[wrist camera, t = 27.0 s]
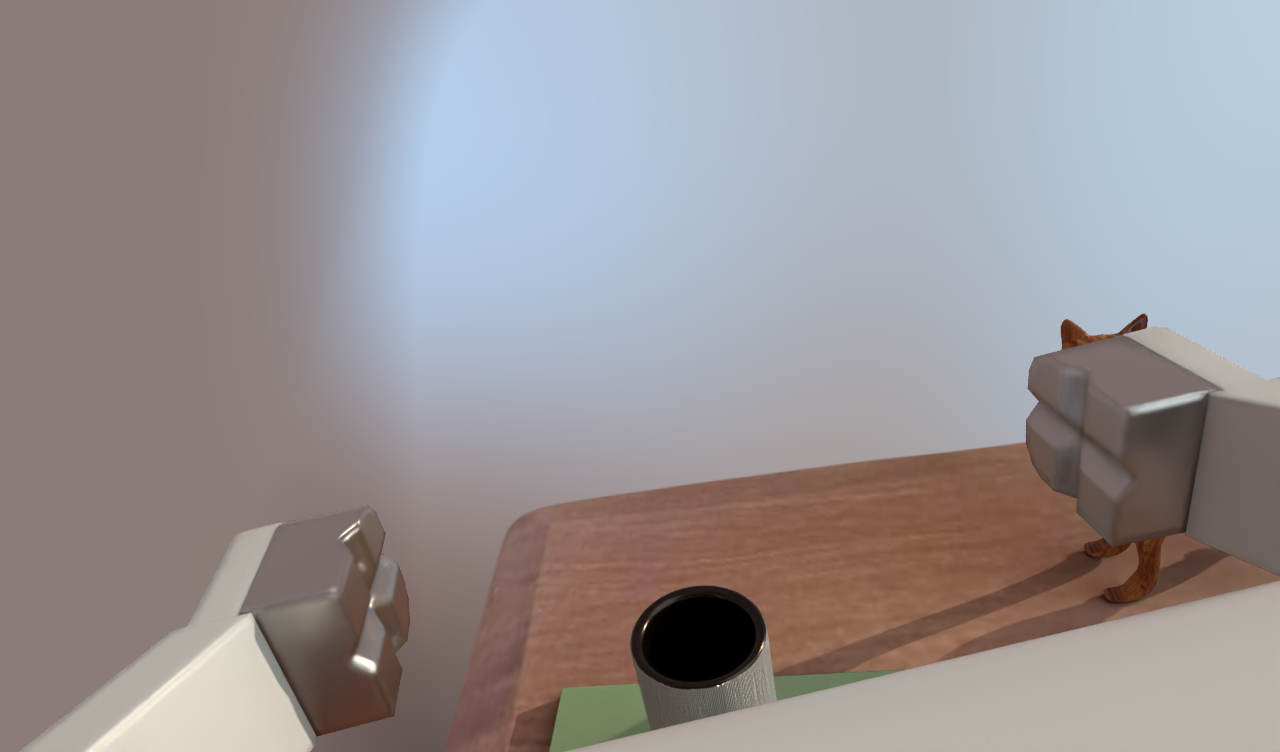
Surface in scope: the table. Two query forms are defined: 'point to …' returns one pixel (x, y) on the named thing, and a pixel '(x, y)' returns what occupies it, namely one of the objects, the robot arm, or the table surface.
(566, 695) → the sage mat
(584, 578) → the table surface
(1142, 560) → the cat figurine
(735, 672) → the planter
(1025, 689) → the robot arm
